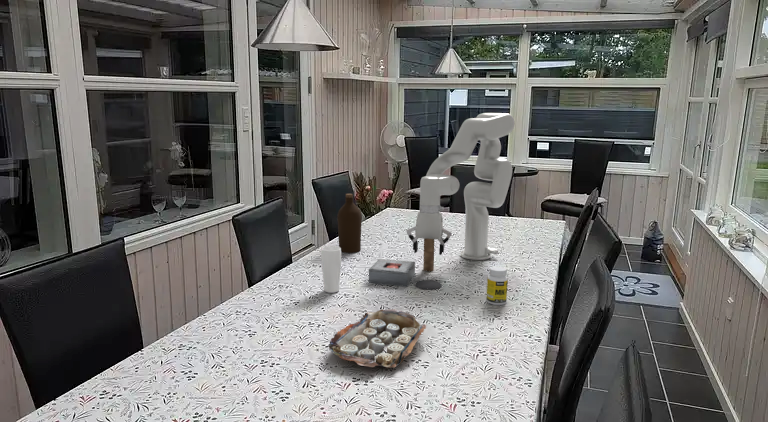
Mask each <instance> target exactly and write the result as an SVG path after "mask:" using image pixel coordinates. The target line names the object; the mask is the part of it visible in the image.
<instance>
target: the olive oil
mask: <svg viewBox="0 0 768 422" xmlns="http://www.w3.org/2000/svg"><path fill="white" fill-rule="evenodd" d="M344 199H345V203H344V204H343V205H341V207H340V209H339V210H338V212H337V216H336V221H337V231H338V233H337V235H338V247H340V248H341V253H344V254H354V253H359V252H360V251H361V249H362V248H361V246H362V245H361V244H362V242H361V241H362V223H363V222H362V221H363V216H362V211H361V210H360V208H359V207H358V206H357V205H356V203H354V194H353V193H345V198H344Z"/></svg>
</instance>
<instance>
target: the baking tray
mask: <svg viewBox="0 0 768 422" xmlns="http://www.w3.org/2000/svg"><path fill="white" fill-rule="evenodd" d="M426 328H427V325H426V324H425V323H422V324H420V323H419V322H418V321H417V320H416V318H415V316H414V315H413V314H410V313H409V312H407V311H403V310H400V309H395V308H394V309H393V308H388V309H379V310H377V311H374V312H371V311H370V312H365V313H364V315H362V318H360V319H359V321H357V322H354V323H350V324H348V325H346V326H345V327H343V328H342V329H340V330H339V331H337V332H336V333H335V334H334V335H333V337H332V338H331V339H330V341H329V345H328V349H329V351H330V352H332V353H333V354H334V355H335V356H337V357H339V359H342V360H344V361H348V362H349V361H350V362H354V363H356V364H357V365H358V366H364V367H369V368H374V367H379V366H380V367H385V368H386V369H390V368H394V369H395V368H396V367H398V366H399V365H400V364H402V363H403V361H404V359H405V357H408V356H409V355H410V353H412V351H413V348H414V347H415V345H416V343H417V342H418V340H419V338H420V336H421V335H422V333H424V331H425V329H426ZM393 339H395V340H393ZM386 345H387V347H386V352H384V351H385V346H386ZM367 347H368V348H367ZM359 349H360V350H359Z"/></svg>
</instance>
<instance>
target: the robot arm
mask: <svg viewBox="0 0 768 422" xmlns="http://www.w3.org/2000/svg"><path fill="white" fill-rule="evenodd" d="M514 128H515V118H514V116H512V115H511V114H510V113H506V112H503V113H502V112H483V113H480V114H478V115H477V116H476V117H474V118H473V117H471V118H467V119H465V120H464V121H463V122H462V124H461V126H460V127H459V130H458V132H457V134H456V136H455V138H454V139H453V141H452V144H451V146H450V148H449V149H447V150H446V151H445V152H443V153H442V154H441V155H439V156H438V157H437V158H436V159H435V160H434V161H433V162H432V163H431V165H430V166H429V169H428V170H427V172H426V175H425V176H422V177H421V179H420V183H419V185H420V186H419V188H420V191H419V211H418V212H417V214H416V215H417V216H416V220H415V226H413V227H411V228H409V229H407V230H406V234H407V236H408V238H409V239H410V240H411V242H412V249H413V251H414V254H416V253H418V249H419V247H418V246H419V241H418V240H419V239H423V240H424V239H434V240H437V241H438V242H439V243H440V244H439V253H438V255H439V256H442V254H443V253H444V251H445V244H446V243H447V242H448V241H449V240H450V238H451V237H452V232H451V231H449V230H447V229H446V228H444V226H443V225H444V222H443V221H444V220H443V213H442V212H441V211H444V209H445V208H444V206H441V196H443V195H444V196H451V195H454V194H456V193H457V192H458V191H459V189H460V182H459V179H458V178H457V177H456V176H454V175H449V174H444V173H445V172H446V171H447V170H449V168H452V167H453V166H456V165H459V164H461V163H463V162H467V161H468V160H469V159H470V158H471V156H472V154H473V152H474V149H475V148H476V145H477V144H478V142H479V141H480V147H479V150H478V155H477V158H476V160H475V165H474V169H473V173H474V176H475V177H476V178H478V179H480V180H483V181H489V182H490V181H492V182H491V183H488V182H483V181H471V182H469V183H468V184H466V186H465V187H464V189H463V197H464V205H465V206H464V207H465V224H464V226H465V227H464V248H463V249H464V250H463V251H460V257H461V258H463V259H466V260H473V261H484V260H489V259H490V258H491V257H492V254H493V255H499V249H496V248H490V247H489V244H488V239H489V222H490V221H489V220H490V218H489V217H490V216H489V211H488V209H487V207H488V208H493V209H498V208H500V207H501V206H503V204H504V203H505V200H506V197H507V194H508V190H509V187H510V185H511V180H512V176H513V165H512V162H511V161H510V160H509V159H506V158H503V157H500V154H501V152H502V151H501V150H502V145H501V141H500V138H502V137H503V138H504V137H505V136H508V135H509V134H511V133H512V131H514ZM413 232H414V235H413V234H412V233H413ZM444 234H445V235H446V237H445V238H443V235H444Z"/></svg>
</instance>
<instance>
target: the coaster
mask: <svg viewBox="0 0 768 422" xmlns="http://www.w3.org/2000/svg"><path fill="white" fill-rule="evenodd" d="M441 287H442V283H441V282H440V281H437V280H434V279H421V280H417V281H416V282H415V288H417V289H420V290H427V291H432V290H433V291H435V290H438V289H440V288H441Z"/></svg>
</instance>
